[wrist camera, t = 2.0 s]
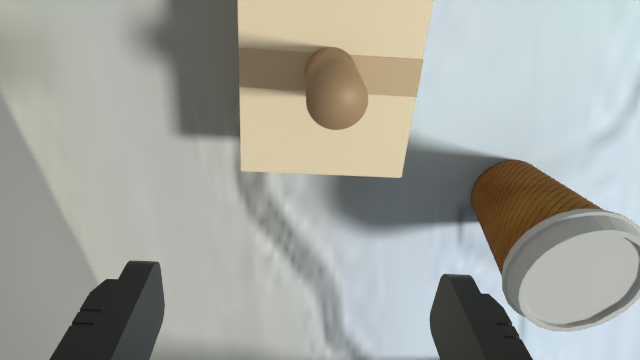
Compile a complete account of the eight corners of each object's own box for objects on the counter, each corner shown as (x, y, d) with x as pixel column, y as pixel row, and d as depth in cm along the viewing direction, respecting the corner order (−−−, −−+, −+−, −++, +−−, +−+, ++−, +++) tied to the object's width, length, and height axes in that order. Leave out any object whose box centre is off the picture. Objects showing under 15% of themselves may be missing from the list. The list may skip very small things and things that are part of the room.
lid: (437, -50, 24) (480, -51, 19) (398, 171, 31) (420, 221, 25) (238, -66, 24) (218, -72, 18) (242, 164, 30) (229, 214, 25)
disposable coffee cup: (457, 244, 40) (513, 348, 30) (447, 157, 36) (508, 243, 25) (558, 222, 40) (652, 320, 29) (561, 130, 35) (673, 207, 25)
